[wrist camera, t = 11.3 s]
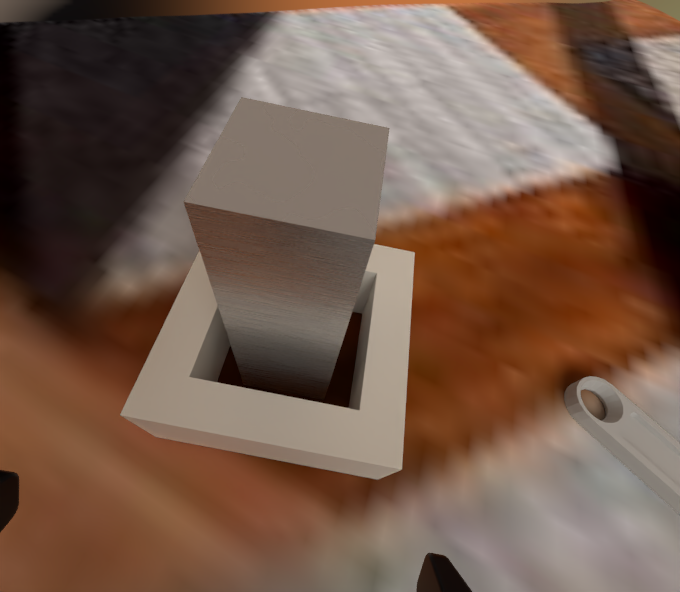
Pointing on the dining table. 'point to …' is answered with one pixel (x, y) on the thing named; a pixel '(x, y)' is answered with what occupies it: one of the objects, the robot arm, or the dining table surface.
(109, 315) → the dining table surface
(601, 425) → the adjustable wrench
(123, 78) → the dining table surface
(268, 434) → the socket block
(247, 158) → the steel peg
